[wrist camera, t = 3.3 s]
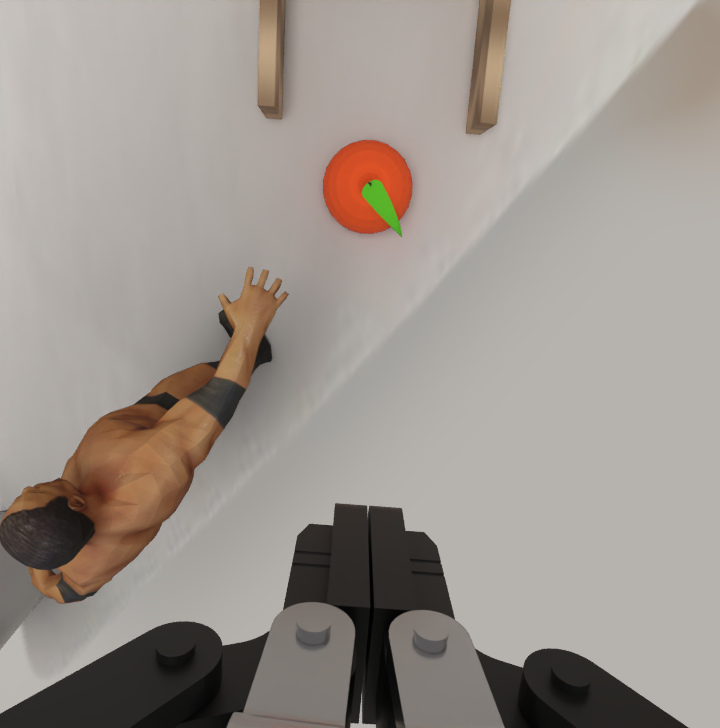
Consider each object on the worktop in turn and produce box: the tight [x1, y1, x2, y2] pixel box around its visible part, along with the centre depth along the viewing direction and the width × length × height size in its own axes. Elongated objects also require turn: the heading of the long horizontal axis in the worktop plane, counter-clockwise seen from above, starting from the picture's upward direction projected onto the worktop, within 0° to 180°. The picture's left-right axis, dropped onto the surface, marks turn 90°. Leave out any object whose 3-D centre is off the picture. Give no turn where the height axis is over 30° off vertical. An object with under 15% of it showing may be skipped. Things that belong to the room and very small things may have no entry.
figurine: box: [0, 267, 288, 604], centre depth 36 cm, size 24×6×30 cm, turn 142°
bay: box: [258, 0, 511, 134], centre depth 42 cm, size 13×17×5 cm
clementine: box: [323, 140, 412, 237], centre depth 44 cm, size 8×7×7 cm
